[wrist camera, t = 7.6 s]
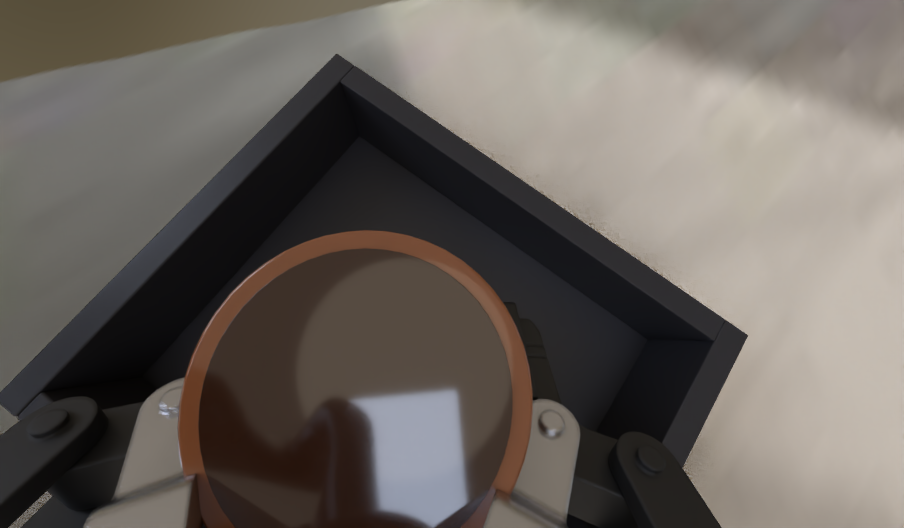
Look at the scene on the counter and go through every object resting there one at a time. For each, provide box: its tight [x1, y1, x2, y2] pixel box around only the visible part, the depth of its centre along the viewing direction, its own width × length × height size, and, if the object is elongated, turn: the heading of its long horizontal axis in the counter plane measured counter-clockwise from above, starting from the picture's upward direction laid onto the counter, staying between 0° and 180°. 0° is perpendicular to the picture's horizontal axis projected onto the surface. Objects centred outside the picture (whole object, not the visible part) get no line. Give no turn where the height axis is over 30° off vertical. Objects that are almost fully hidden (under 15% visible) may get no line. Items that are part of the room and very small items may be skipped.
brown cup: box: [177, 230, 533, 528], centre depth 10 cm, size 6×6×9 cm
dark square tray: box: [0, 54, 748, 528], centre depth 14 cm, size 20×17×5 cm
